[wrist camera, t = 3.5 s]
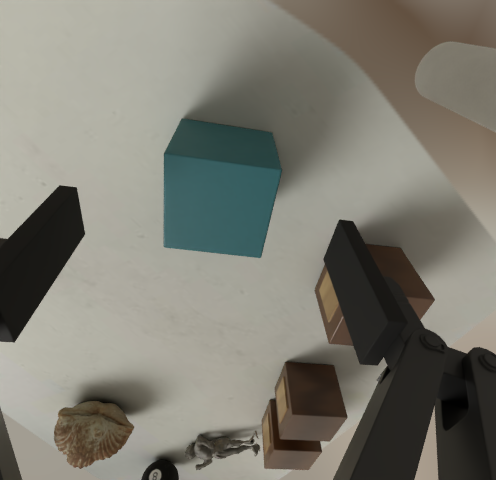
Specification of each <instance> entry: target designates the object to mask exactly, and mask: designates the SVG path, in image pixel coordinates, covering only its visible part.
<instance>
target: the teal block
mask: <svg viewBox="0 0 496 480" xmlns="http://www.w3.org/2000/svg"><path fill="white" fill-rule="evenodd" d="M281 173H282V168H281V165H280V161H279V157H278V153H277V149H276V145H275V142H274V138H273V134H272V133H271V132H265V131H259V130H253V129H246V128H240V127H234V126H227V125H221V124H215V123H208V122H202V121H195V120H189V119H181V121H180V123H179V125H178V127H177V129H176V131H175V133H174V135H173V137H172V139H171V141H170V143H169V145H168V147H167V149H166V151H165V153H164V247H166V248H175V249H184V250H193V251H202V252H211V253H220V254H229V255H238V256H247V257H256V258H261V256H262V251H263V247H264V243H265V239H266V235H267V231H268V227H269V222H270V218H271V214H272V210H273V206H274V202H275V198H276V194H277V189H278V185H279V181H280V177H281Z"/></svg>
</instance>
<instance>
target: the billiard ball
mask: <svg viewBox="0 0 496 480" xmlns="http://www.w3.org/2000/svg"><path fill="white" fill-rule="evenodd" d="M141 480H179V476H178V471H177V469H176V467H175V466H174V464H172V463H171V462H169V461H166V460H159V461H156V462H154V463H152V464H151V465H150V466H148V468H147V469H146V470H145V472H144V474H143V476H142V479H141Z"/></svg>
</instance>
